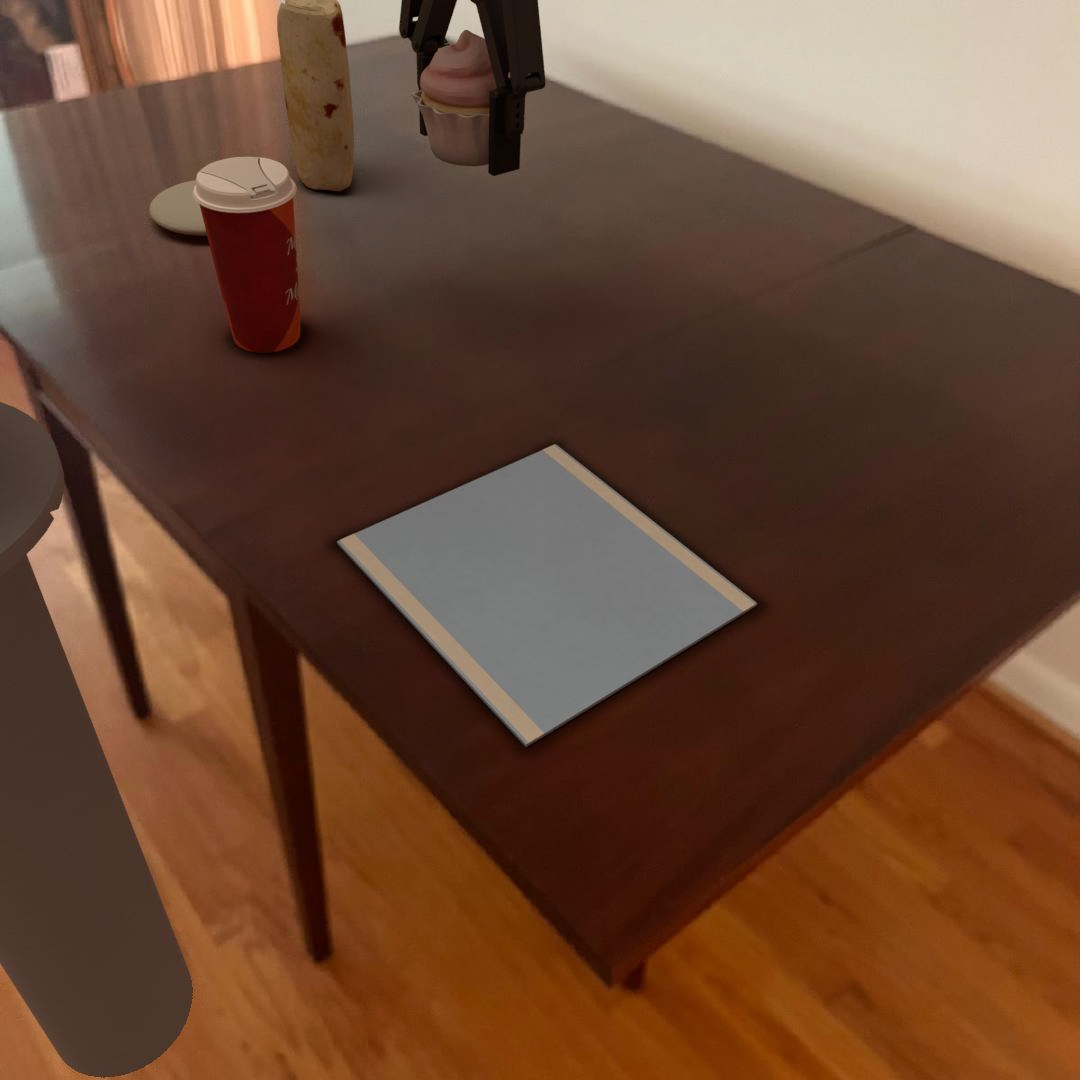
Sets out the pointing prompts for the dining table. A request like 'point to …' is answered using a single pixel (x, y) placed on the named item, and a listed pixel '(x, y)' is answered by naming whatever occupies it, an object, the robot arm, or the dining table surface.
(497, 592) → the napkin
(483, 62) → the cupcake
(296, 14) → the food model
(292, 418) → the dining table surface
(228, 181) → the coffee cup
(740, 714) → the dining table surface
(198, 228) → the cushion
